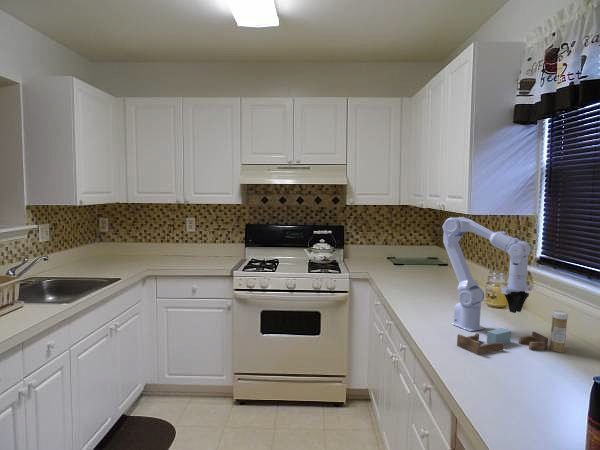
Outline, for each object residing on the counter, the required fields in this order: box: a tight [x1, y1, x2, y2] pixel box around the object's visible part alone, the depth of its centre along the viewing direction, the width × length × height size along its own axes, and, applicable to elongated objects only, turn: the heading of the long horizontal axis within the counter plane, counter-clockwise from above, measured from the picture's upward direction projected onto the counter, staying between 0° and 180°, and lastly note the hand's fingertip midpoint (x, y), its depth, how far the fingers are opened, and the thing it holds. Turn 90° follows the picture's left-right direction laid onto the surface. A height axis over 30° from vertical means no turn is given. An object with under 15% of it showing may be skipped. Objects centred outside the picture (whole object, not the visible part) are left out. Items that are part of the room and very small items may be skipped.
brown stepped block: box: [518, 331, 549, 351], centre depth 146 cm, size 6×6×4 cm
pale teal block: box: [486, 327, 512, 345], centre depth 148 cm, size 4×8×4 cm, turn 118°
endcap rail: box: [456, 332, 504, 356], centre depth 143 cm, size 11×11×4 cm
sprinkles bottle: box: [549, 310, 569, 353], centre depth 142 cm, size 5×5×14 cm
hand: (515, 311), depth 151 cm, fingers open, 2 cm apart
